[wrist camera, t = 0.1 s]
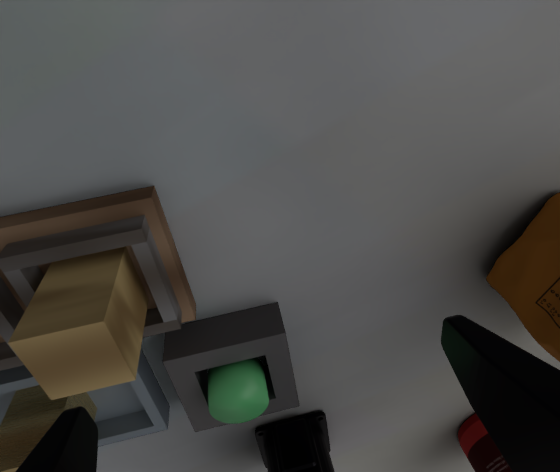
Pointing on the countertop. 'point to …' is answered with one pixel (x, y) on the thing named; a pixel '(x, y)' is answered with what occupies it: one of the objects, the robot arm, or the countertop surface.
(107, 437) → the tray
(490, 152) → the countertop surface
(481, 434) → the canned food
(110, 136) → the countertop surface
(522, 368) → the robot arm
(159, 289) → the pallet
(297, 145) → the countertop surface
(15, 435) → the block
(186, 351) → the button base
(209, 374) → the button
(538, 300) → the coffee package
